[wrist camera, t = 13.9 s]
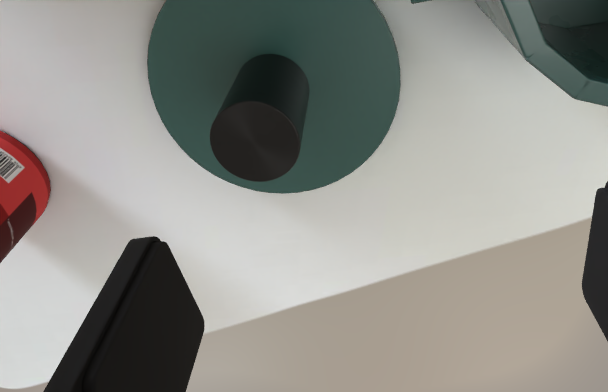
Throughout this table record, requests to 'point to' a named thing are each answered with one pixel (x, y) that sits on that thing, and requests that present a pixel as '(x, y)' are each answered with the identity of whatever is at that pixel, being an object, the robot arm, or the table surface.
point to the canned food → (19, 191)
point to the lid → (275, 87)
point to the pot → (558, 40)
